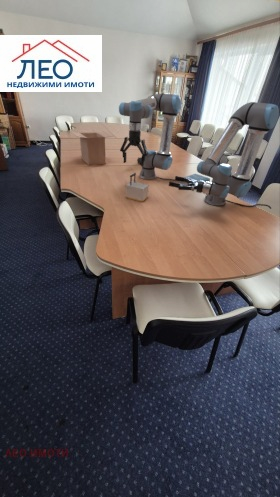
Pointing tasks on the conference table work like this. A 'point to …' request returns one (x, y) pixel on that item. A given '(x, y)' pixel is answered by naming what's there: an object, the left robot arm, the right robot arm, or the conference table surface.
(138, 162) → the laser sight
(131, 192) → the chest
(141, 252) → the conference table surface
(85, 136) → the box
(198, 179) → the book
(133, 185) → the lid
